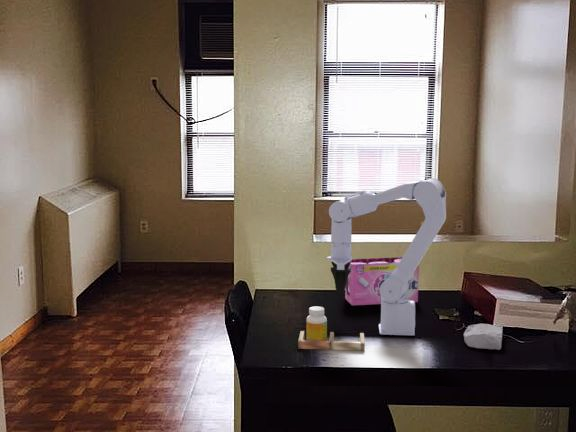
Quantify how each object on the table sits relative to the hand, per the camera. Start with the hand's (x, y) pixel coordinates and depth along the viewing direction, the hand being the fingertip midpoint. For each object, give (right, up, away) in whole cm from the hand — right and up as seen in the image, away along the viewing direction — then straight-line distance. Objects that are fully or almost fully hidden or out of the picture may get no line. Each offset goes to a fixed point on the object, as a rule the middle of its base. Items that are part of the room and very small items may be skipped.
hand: (340, 288), depth 183 cm
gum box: (+15, -7, +25) cm, 30 cm away
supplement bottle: (-8, -13, -15) cm, 21 cm away
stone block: (+37, -13, -13) cm, 41 cm away
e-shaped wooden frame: (-4, -13, -15) cm, 20 cm away
